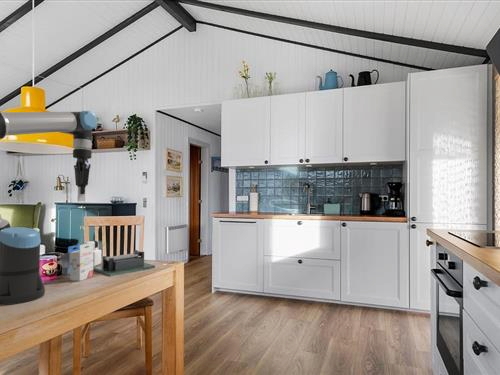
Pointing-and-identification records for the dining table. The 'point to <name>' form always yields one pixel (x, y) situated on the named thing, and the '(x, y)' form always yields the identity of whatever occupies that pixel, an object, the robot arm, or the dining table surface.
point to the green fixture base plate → (123, 265)
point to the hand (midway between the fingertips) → (81, 201)
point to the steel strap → (125, 256)
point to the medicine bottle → (95, 253)
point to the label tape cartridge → (68, 259)
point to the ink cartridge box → (81, 263)
